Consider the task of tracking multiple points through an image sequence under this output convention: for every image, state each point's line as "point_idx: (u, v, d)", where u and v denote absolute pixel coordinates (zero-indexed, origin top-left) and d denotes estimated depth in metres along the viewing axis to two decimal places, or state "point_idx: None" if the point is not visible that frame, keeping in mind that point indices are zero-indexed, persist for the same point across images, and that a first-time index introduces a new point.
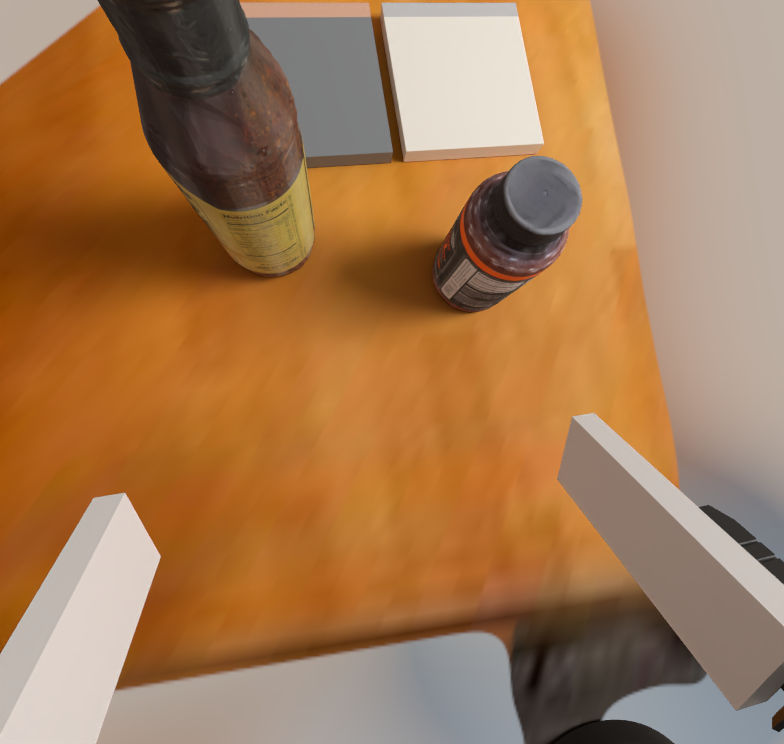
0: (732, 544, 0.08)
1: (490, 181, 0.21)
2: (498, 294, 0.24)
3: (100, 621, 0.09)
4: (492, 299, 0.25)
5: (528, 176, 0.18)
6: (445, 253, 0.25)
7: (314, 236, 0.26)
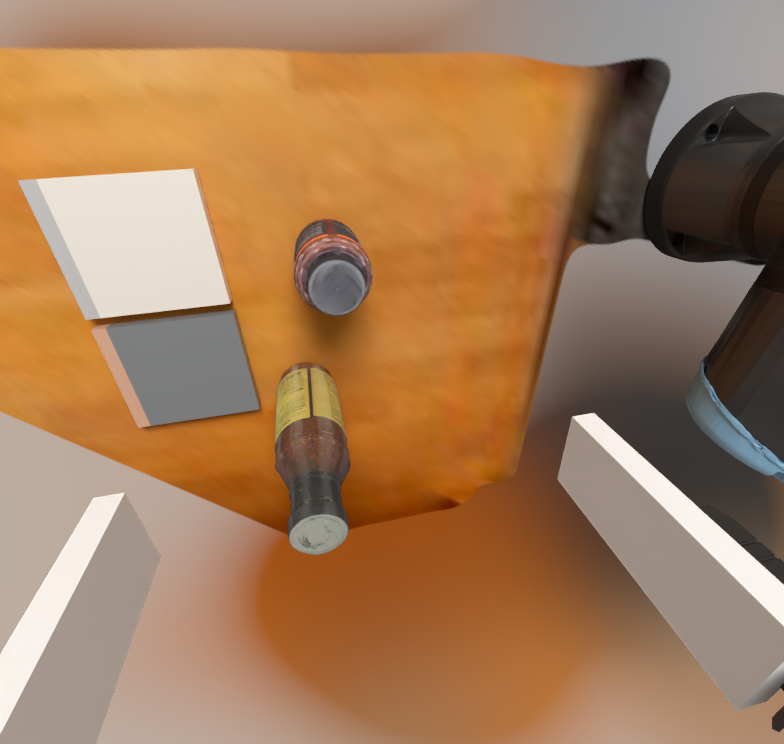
0: (732, 544, 0.08)
1: (308, 301, 0.29)
2: None
3: (100, 621, 0.09)
4: None
5: (325, 299, 0.27)
6: None
7: (311, 368, 0.40)
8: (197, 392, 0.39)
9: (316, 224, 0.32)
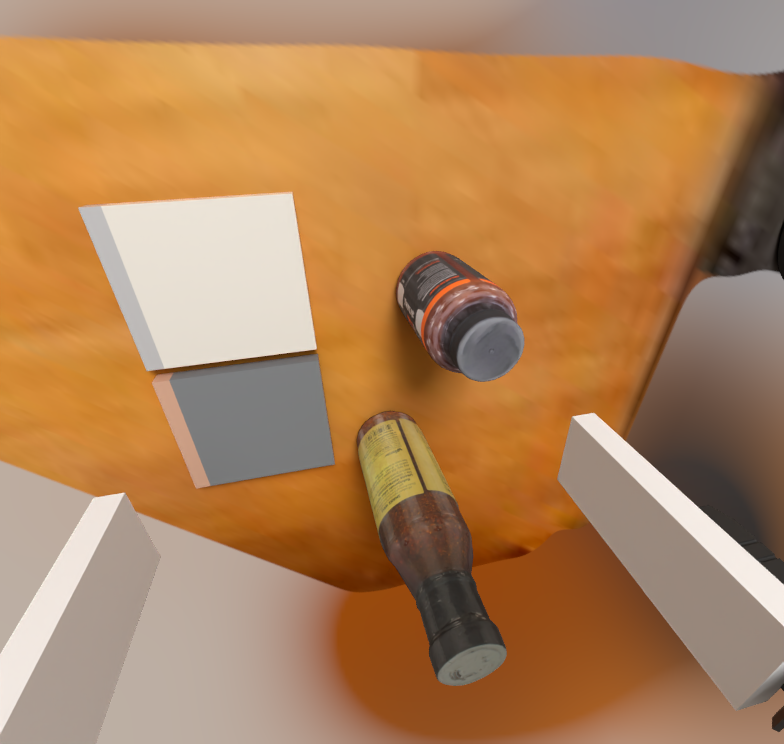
0: (732, 544, 0.08)
1: (440, 360, 0.23)
2: None
3: (100, 621, 0.09)
4: None
5: (475, 364, 0.21)
6: None
7: (400, 419, 0.34)
8: (267, 448, 0.34)
9: (432, 259, 0.27)
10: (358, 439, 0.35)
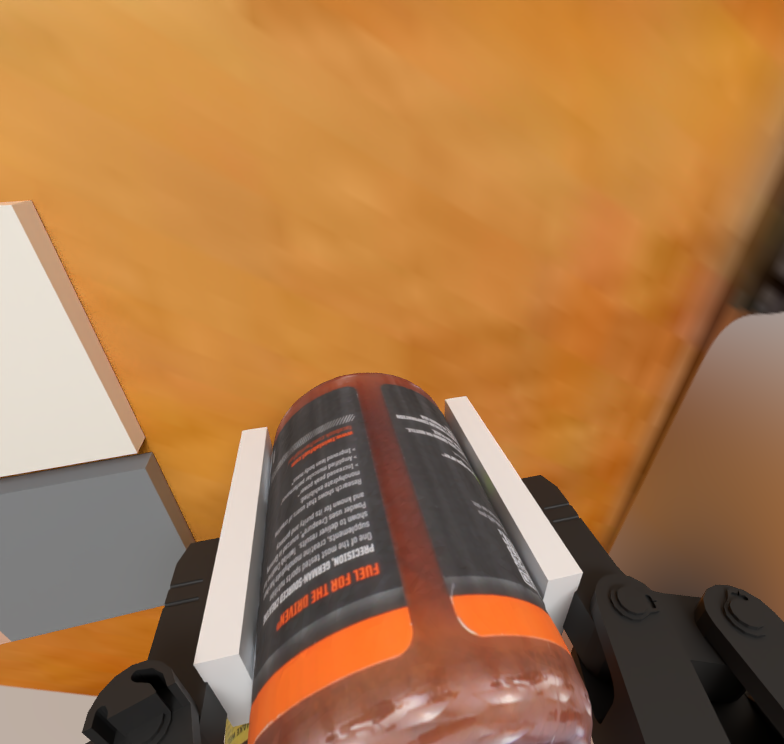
0: (535, 505, 0.09)
1: None
2: None
3: None
4: None
5: None
6: None
7: None
8: (92, 587, 0.22)
9: (337, 421, 0.10)
10: None
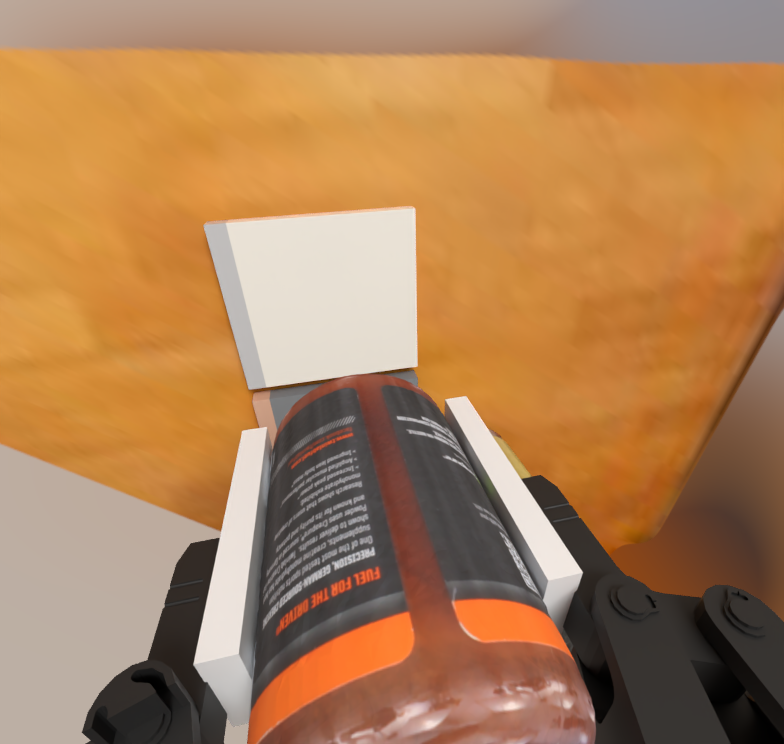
0: (535, 505, 0.09)
1: None
2: None
3: None
4: None
5: None
6: None
7: None
8: None
9: (338, 422, 0.10)
10: None
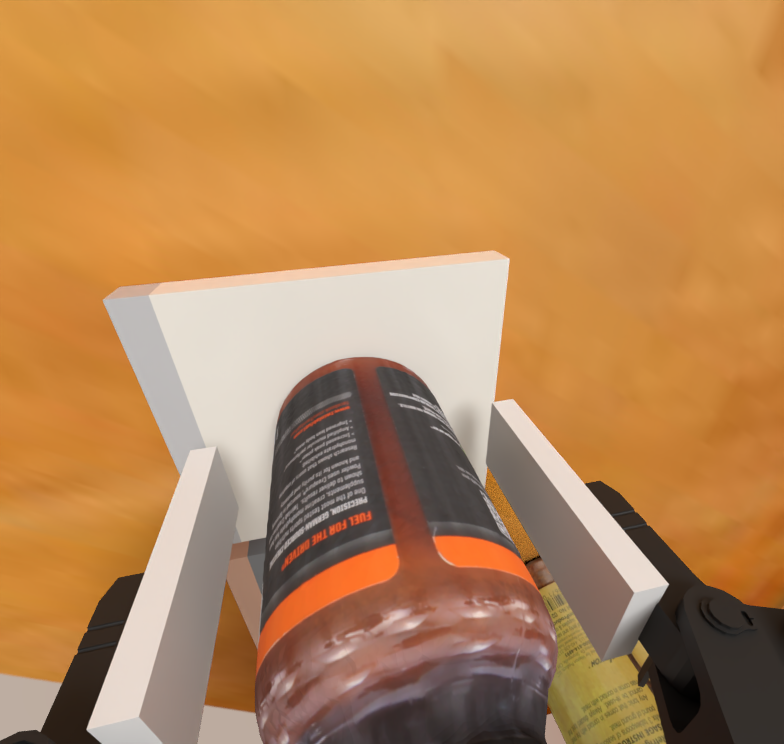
0: (604, 512, 0.09)
1: None
2: None
3: (210, 548, 0.10)
4: None
5: None
6: None
7: None
8: None
9: (336, 397, 0.11)
10: None
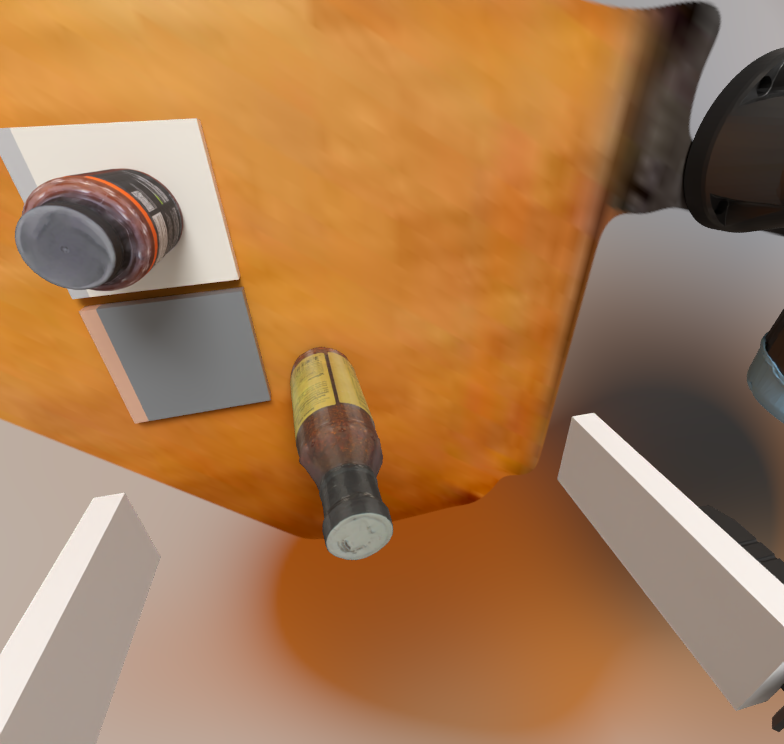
0: (732, 544, 0.08)
1: None
2: (167, 224, 0.24)
3: (100, 621, 0.09)
4: (171, 220, 0.25)
5: (51, 266, 0.19)
6: None
7: (328, 352, 0.36)
8: (201, 382, 0.35)
9: None
10: (291, 374, 0.37)
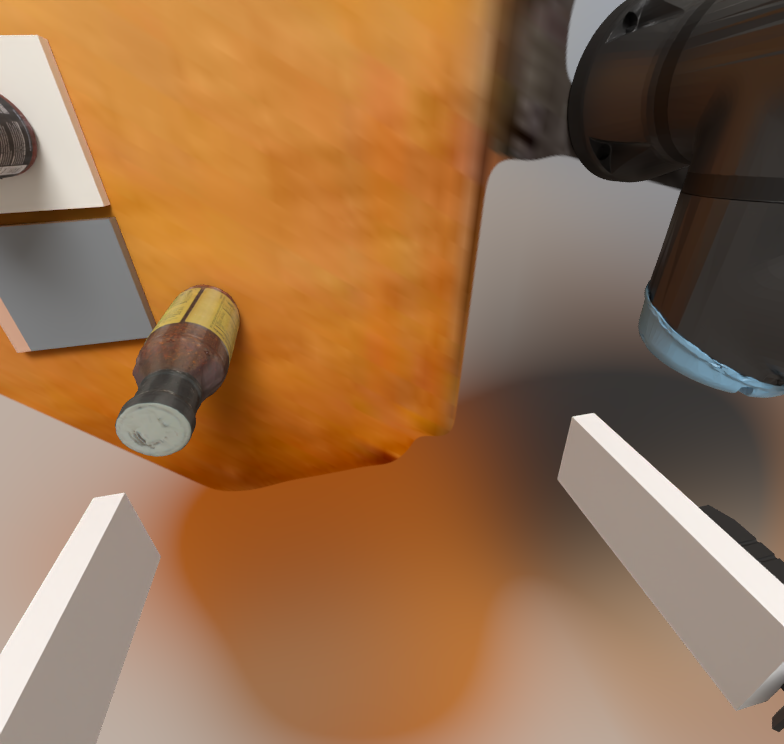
0: (732, 544, 0.08)
1: None
2: None
3: (100, 621, 0.09)
4: (5, 130, 0.26)
5: None
6: None
7: (206, 288, 0.36)
8: (80, 313, 0.36)
9: None
10: None
